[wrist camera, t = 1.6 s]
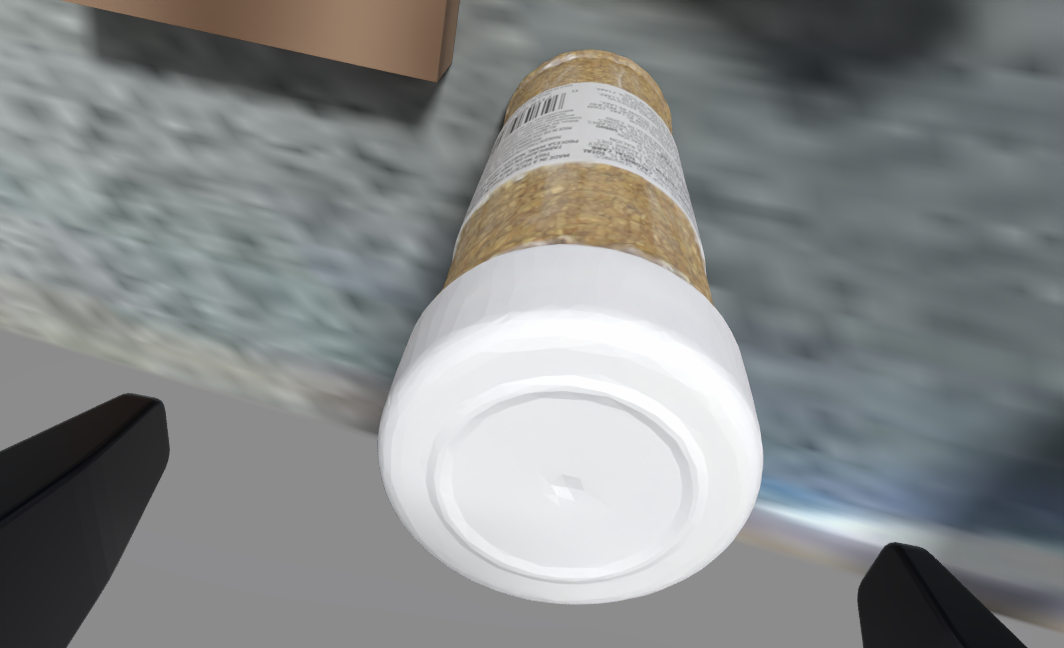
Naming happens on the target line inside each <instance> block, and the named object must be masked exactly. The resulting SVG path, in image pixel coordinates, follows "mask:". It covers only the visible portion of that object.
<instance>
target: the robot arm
mask: <svg viewBox="0 0 1064 648" xmlns="http://www.w3.org/2000/svg"><path fill="white" fill-rule="evenodd" d="M169 451H170V448H169V438H168V429H167V421H166V412H165V407H164V404H163V402H162V401H161V400H159V399H157V398H154V397H149V396H143V395H138V394H133V393H127V394H122V395H120V396H118V397H116V398H113V399H111V400H109V401H107V402H105V403H103V404H100V405H98V406H96V407H95V408H92V409H90V410H88V411H85V412H83V413H81V414H79V415H77V416H75V417H73V418H70V419H68V420H66V421H64V422H62V423H60V424H58V425H55V426H54V427H51V428H49V429H47V430H45V431H43V432H41V433H38V434H36V435H34V436H32V437H30V438H28V439H25V440H23V441H21V442H19V443H17V444H15V445H13V446H11V447H8V448H6V449H4V450H2V451H0V648H67V646H68V644H69V643H70V641H71V640H72V638H73V637H74V635H75V634H76V632H77V630H78V629H79V627H80V626H81V624H82V623H83V621H84V619H85V618H86V616H87V615H88V613H89V612H90V610H91V609H92V607H93V605H94V604H95V602H96V601H97V599H98V598H99V596H100V594H101V593H102V591H103V589H104V588H105V586H106V584H107V583H108V581H109V580H110V578H111V576H112V574H113V572H114V570H115V568H116V566H117V564H118V563H119V561H120V559H121V557H122V555H123V553H124V551H125V549H126V546H127V544H128V542H129V541H130V538H131V537H132V534H133V533H134V530H135V528H136V526H137V524H138V522H139V520H140V518H141V516H142V514H143V512H144V510H145V508H146V506H147V504H148V502H149V500H150V498H151V496H152V494H153V492H154V490H155V488H156V486H157V484H158V482H159V480H160V478H161V476H162V474H163V472H164V470H165V468H166V465H167V462H168V459H169ZM857 601H858V610H859V618H860V626H861V633H862V641H863V648H1027V647H1026V646H1025V645H1024V644H1023V643H1022V642H1021V641H1020V640H1019V639H1018V638H1017V637H1016V636H1015V635H1014V634H1013V633H1012V632H1011V631H1010V630H1009V629H1008V628H1007V627H1006V626H1005V625H1004V624H1003V623H1001V622H1000V621H999V620H998V619H997V618H996V617H995V616H994V615H993V614H992V613H991V612H990V611H989V610H988V609H987V608H986V607H985V606H984V605H983V604H982V603H981V602H980V601H979V600H978V599H977V598H976V597H975V596H974V595H973V594H972V593H971V592H970V591H969V590H967V589H966V588H965V587H964V586H963V585H962V584H961V583H960V582H959V581H958V580H957V579H956V578H955V577H954V576H953V575H952V574H951V573H950V572H949V571H948V570H947V569H946V568H945V567H944V566H943V565H942V564H941V563H940V562H939V561H938V560H937V559H936V558H935V557H934V556H932V555H931V554H930V553H929V552H928V551H927V550H925V549H923V548H921V547H917V546H912V545H907V544H902V543H896V542H893V543H889V544H887V545H886V546H885V547H884V548H883V549H882V551H881V552H880V554H879V555H878V557H877V558H876V560H875V561H874V563H873V564H872V566H871V567H870V569H869V570H868V572H867V574H866V575H865V577H864V578H863V580H862V582H861V584H860V586H859V589H858V600H857Z"/></svg>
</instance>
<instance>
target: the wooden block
mask: <svg viewBox="0 0 1064 648" xmlns="http://www.w3.org/2000/svg"><path fill="white" fill-rule="evenodd" d="M62 1H67V2H71V3H76V4H80V5H85V6H89V7H94V8H99V9H103V10H108V11H112V12H117V13H121V14H126V15H131V16H135V17H140V18H144V19H149V20H153V21H158V22H163V23H167V24H172V25H176V26H181V27H185V28H190V29H195V30H199V31H204V32H208V33H213V34H217V35H222V36H227V37H231V38H236V39H240V40H245V41H249V42H254V43H259V44H263V45H268V46H272V47H277V48H281V49H286V50H291V51H295V52H300V53H304V54H309V55H313V56H318V57H323V58H327V59H332V60H336V61H341V62H345V63H350V64H355V65H359V66H364V67H368V68H373V69H377V70H382V71H387V72H391V73H396V74H400V75H405V76H409V77H414V78H419V79H423V80H428V81H432V82H438V80H439V79H440V78H441V76H442V75H443V74H444V73H445V71H446V70H447V69H448V67H449V66H450V65H451V64H452V58H453V50H454V42H455V35H456V27H457V19H458V11H459V4H460V0H62Z"/></svg>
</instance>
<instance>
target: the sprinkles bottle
mask: <svg viewBox="0 0 1064 648" xmlns="http://www.w3.org/2000/svg"><path fill="white" fill-rule="evenodd" d="M377 447H378V463H379V468H380V473H381V478H382V483H383V486H384V489H385V492H386V495H387V497H388V499H389V501H390V503H391V505H392V507H393V509H394V511H395V512H396V514H397V516H398V517H399V519H400V520H401V522H402V523H403V525H404V526H405V528H406V529H407V530H408V531H409V532H410V533H411V534H412V535H413V537H414V538H415V539H416V540H417V541H418V542H419V543H420V544H421V545H422V546H423V547H424V548H425V549H426V550H427V551H429V553H431V554H432V555H433V556H434V557H436V558H437V559H438V560H440V561H441V562H442V563H444V564H445V565H446V566H448V567H449V568H451V569H452V570H454V571H455V572H457V573H459V574H461V575H463V576H464V577H466V578H468V579H470V580H473V581H475V582H477V583H479V584H482V585H484V586H487V587H489V588H491V589H494V590H496V591H500V592H503V593H506V594H509V595H512V596H516V597H520V598H525V599H528V600H534V601H541V602H549V603H558V604H596V603H606V602H613V601H620V600H625V599H630V598H635V597H640V596H644V595H648V594H650V593H653V592H656V591H659V590H662V589H664V588H666V587H669V586H671V585H673V584H675V583H678V582H680V581H682V580H684V579H686V578H688V577H689V576H691V575H693V574H694V573H696V572H698V571H699V570H701V569H702V568H704V567H705V566H706V565H708V564H709V563H710V562H711V561H713V559H715V558H716V557H717V556H718V555H719V554H721V553H722V552H723V551H724V550H725V549H726V548H727V547H728V546H729V545H730V543H731V542H732V541H733V540H734V539H735V537H736V536H737V534H738V533H739V532H740V530H741V529H742V527H743V526H744V524H745V523H746V521H747V519H748V517H749V515H750V513H751V511H752V509H753V507H754V505H755V501H756V498H757V495H758V492H759V489H760V484H761V478H762V469H763V448H762V441H761V433H760V427H759V423H758V419H757V415H756V411H755V406H754V402H753V398H752V394H751V390H750V386H749V382H748V378H747V374H746V371H745V368H744V364H743V361H742V357H741V354H740V350H739V347H738V345H737V343H736V341H735V338H734V336H733V334H732V332H731V330H730V329H729V327H728V325H727V324H726V322H725V320H724V319H723V317H722V316H721V315H720V314H719V312H718V311H717V310H716V309H715V307H714V305H713V302H712V298H711V293H710V290H709V285H708V282H707V277H706V268H705V256H704V252H703V248H702V244H701V240H700V236H699V232H698V228H697V224H696V220H695V216H694V212H693V209H692V205H691V201H690V197H689V194H688V190H687V187H686V183H685V179H684V174H683V170H682V166H681V162H680V158H679V154H678V150H677V147H676V144H675V142H674V139H673V137H672V126H671V114H670V109H669V107H668V105H667V103H666V101H665V99H664V97H663V94H662V92H661V89H660V88H659V86H658V85H657V84H656V82H655V81H654V80H653V79H652V77H651V76H650V75H649V74H648V73H647V72H646V71H645V70H643V69H642V68H641V67H639V66H638V65H637V64H636V63H634V62H633V61H632V60H630V59H629V58H626V57H622V56H619V55H617V54H614V53H611V52H607V51H599V50H581V51H571V52H567V53H563V54H560V55H558V56H556V57H554V58H553V59H551V60H549V61H546V62H544V63H542V64H541V65H540V66H539V67H538V68H537V69H536V70H534V71H533V72H531V73H530V74H528V75H527V76H526V77H525V78H524V80H523V81H522V82H521V83H520V85H519V86H518V88H517V90H516V91H515V93H514V95H513V96H512V98H511V100H510V102H509V104H508V107H507V110H506V115H505V120H504V125H503V128H502V130H501V131H500V133H499V135H498V137H497V139H496V141H495V144H494V146H493V148H492V151H491V153H490V156H489V158H488V161H487V164H486V166H485V169H484V171H483V174H482V176H481V179H480V181H479V183H478V186H477V188H476V191H475V193H474V196H473V198H472V201H471V203H470V205H469V208H468V210H467V213H466V216H465V218H464V221H463V223H462V226H461V229H460V232H459V234H458V237H457V240H456V244H455V248H454V252H453V259H452V264H451V267H450V269H449V273H448V276H447V279H446V282H445V285H444V287H443V289H442V290H441V292H440V293H439V294H438V295H437V296H436V297H435V299H434V300H433V301H432V302H431V303H430V304H429V305H428V307H427V308H426V309H425V310H424V311H423V313H422V315H421V316H420V318H419V320H418V321H417V323H416V325H415V327H414V329H413V331H412V334H411V336H410V338H409V341H408V343H407V346H406V348H405V351H404V353H403V356H402V359H401V361H400V364H399V366H398V369H397V371H396V374H395V377H394V380H393V383H392V386H391V389H390V392H389V394H388V397H387V400H386V403H385V406H384V410H383V413H382V417H381V420H380V426H379V433H378V441H377Z"/></svg>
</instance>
